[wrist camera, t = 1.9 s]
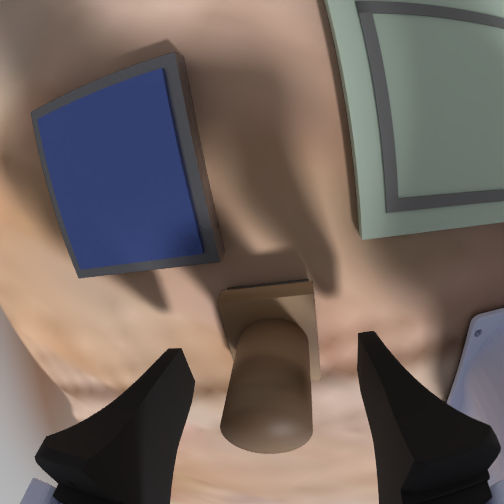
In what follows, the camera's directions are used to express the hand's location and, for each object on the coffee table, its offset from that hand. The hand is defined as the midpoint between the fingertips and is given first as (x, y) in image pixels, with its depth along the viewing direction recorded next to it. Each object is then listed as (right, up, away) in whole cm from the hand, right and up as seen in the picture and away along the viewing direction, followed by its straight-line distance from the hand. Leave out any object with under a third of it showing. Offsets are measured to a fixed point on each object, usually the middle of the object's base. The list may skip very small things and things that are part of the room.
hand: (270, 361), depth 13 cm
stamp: (0, +1, +2) cm, 3 cm away
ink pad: (-6, +8, 0) cm, 10 cm away
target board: (+8, +10, -3) cm, 13 cm away
